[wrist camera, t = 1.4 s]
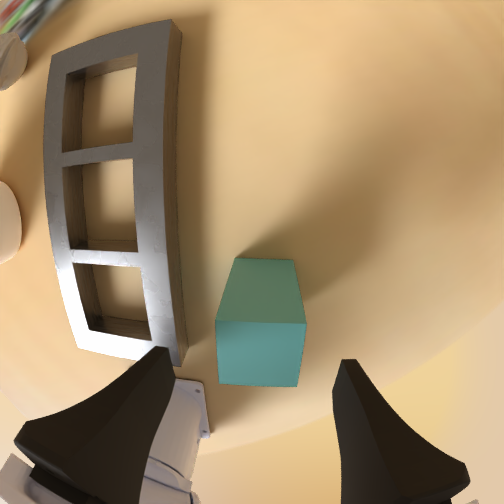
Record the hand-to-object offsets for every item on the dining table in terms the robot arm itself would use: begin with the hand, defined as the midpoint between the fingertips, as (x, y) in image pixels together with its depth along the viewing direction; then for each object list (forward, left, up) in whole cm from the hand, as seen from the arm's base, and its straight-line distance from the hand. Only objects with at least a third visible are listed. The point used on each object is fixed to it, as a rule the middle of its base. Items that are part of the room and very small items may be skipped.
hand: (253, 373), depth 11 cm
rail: (+6, +11, -10) cm, 16 cm away
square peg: (0, 0, -10) cm, 10 cm away
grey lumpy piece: (+20, +23, -10) cm, 32 cm away
